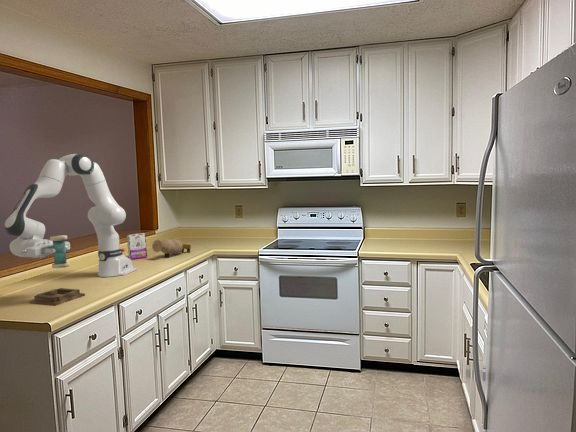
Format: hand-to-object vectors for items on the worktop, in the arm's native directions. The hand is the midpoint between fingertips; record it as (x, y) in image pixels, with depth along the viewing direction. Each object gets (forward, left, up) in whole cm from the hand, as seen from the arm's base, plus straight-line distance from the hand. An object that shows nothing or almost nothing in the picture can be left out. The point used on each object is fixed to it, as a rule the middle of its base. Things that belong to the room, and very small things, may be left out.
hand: (60, 249), depth 206 cm
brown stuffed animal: (-99, -13, -23) cm, 102 cm away
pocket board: (+3, -1, -23) cm, 23 cm away
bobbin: (0, -1, -8) cm, 8 cm away
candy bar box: (-87, -32, -23) cm, 96 cm away
